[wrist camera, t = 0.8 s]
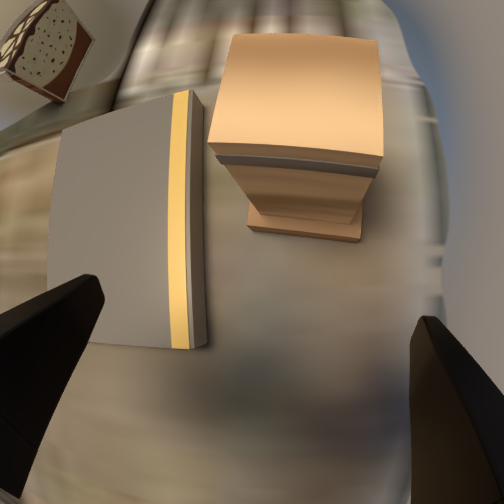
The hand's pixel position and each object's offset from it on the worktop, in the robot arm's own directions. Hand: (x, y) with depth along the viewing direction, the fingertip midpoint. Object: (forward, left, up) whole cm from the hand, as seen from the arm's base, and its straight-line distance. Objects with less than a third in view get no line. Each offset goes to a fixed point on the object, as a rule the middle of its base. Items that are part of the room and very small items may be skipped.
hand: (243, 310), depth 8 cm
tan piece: (+7, -2, -13) cm, 15 cm away
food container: (+26, +24, -13) cm, 38 cm away
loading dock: (+6, +12, -13) cm, 19 cm away
